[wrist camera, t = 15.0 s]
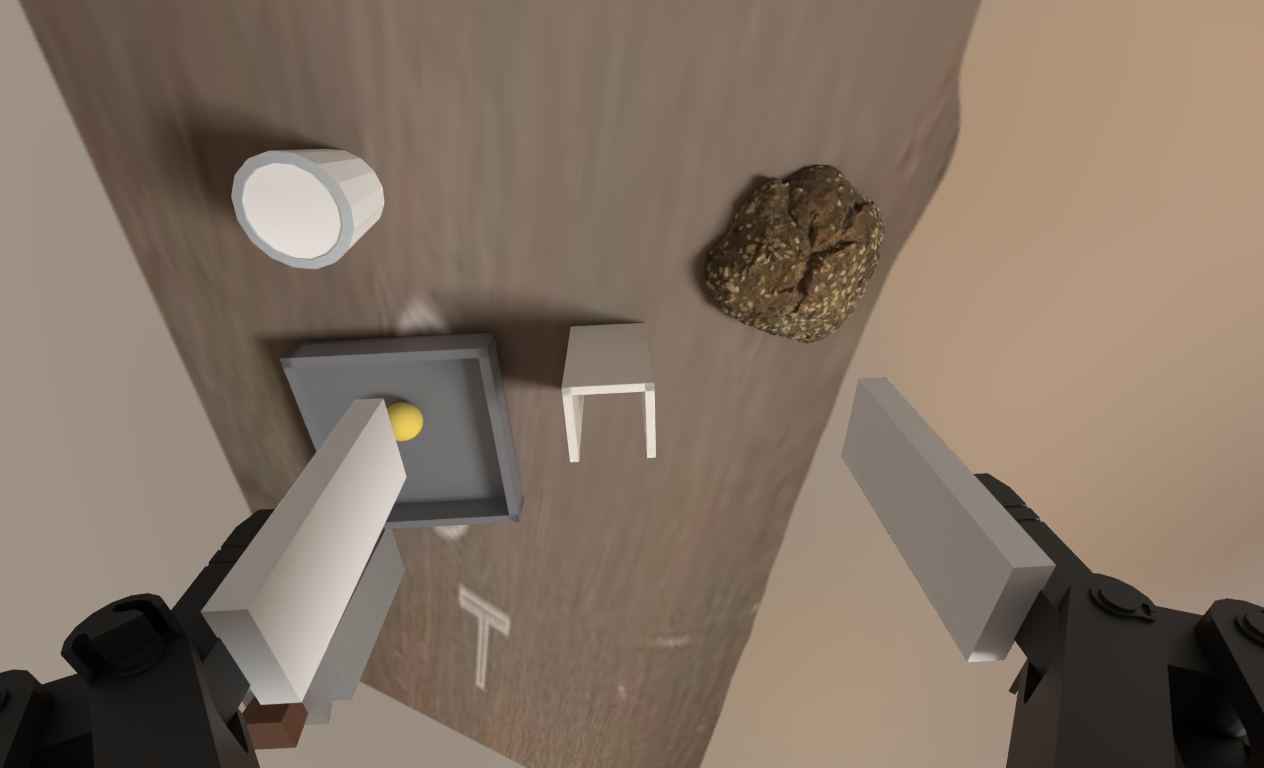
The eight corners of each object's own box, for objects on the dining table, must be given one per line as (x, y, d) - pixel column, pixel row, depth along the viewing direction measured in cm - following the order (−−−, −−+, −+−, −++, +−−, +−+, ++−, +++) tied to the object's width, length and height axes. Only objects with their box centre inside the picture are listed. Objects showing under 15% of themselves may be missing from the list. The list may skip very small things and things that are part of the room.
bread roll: (809, 352, 46) (830, 381, 42) (684, 289, 43) (693, 313, 39) (912, 216, 41) (948, 232, 37) (778, 132, 38) (800, 139, 33)
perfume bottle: (389, 521, 53) (298, 706, 38) (405, 570, 57) (327, 759, 41) (319, 524, 53) (198, 711, 37) (339, 573, 56) (235, 763, 41)
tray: (299, 341, 44) (279, 358, 41) (494, 332, 44) (487, 348, 41) (360, 508, 52) (348, 531, 50) (523, 499, 53) (519, 521, 50)
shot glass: (340, 257, 41) (293, 289, 34) (268, 171, 38) (202, 190, 31) (413, 211, 39) (377, 235, 33) (345, 118, 36) (291, 126, 30)
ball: (392, 430, 47) (383, 397, 46) (430, 426, 47) (422, 393, 46) (381, 450, 44) (371, 416, 43) (422, 446, 45) (413, 412, 43)
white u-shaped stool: (570, 326, 44) (561, 387, 35) (644, 322, 44) (654, 382, 35) (577, 390, 47) (570, 462, 38) (646, 387, 47) (655, 457, 38)
